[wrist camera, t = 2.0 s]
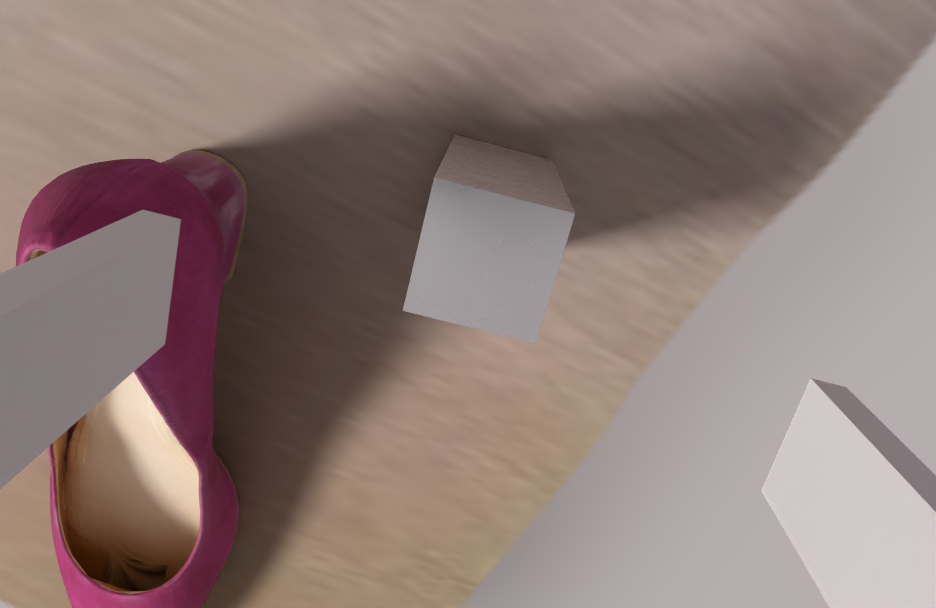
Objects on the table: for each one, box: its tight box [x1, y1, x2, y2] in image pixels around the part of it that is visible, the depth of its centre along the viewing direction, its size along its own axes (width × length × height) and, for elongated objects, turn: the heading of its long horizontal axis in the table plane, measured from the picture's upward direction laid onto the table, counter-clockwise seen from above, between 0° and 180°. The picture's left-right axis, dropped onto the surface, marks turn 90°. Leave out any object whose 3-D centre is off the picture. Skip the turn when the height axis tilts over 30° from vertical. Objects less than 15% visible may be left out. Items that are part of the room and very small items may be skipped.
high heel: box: [16, 150, 248, 608], centre depth 29 cm, size 26×9×12 cm, turn 160°
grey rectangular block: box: [403, 135, 575, 344], centre depth 26 cm, size 4×4×10 cm
